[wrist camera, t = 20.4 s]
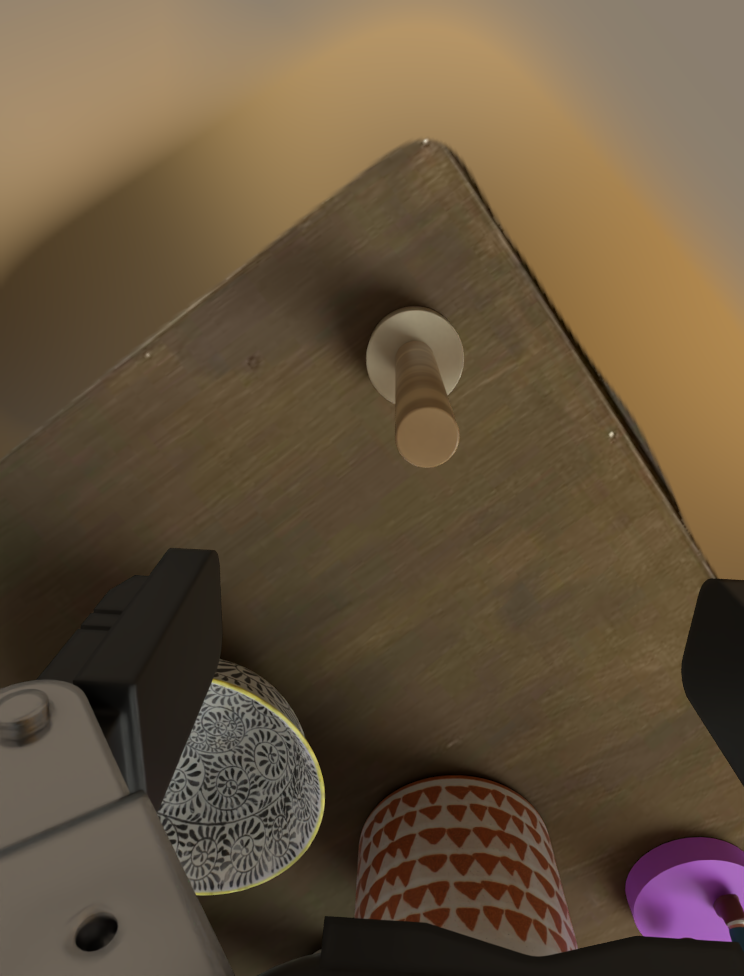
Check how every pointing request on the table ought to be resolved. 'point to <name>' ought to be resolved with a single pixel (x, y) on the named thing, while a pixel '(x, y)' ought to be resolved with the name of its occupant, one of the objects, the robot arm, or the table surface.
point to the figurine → (689, 891)
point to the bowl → (242, 787)
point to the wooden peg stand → (418, 381)
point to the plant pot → (464, 865)
